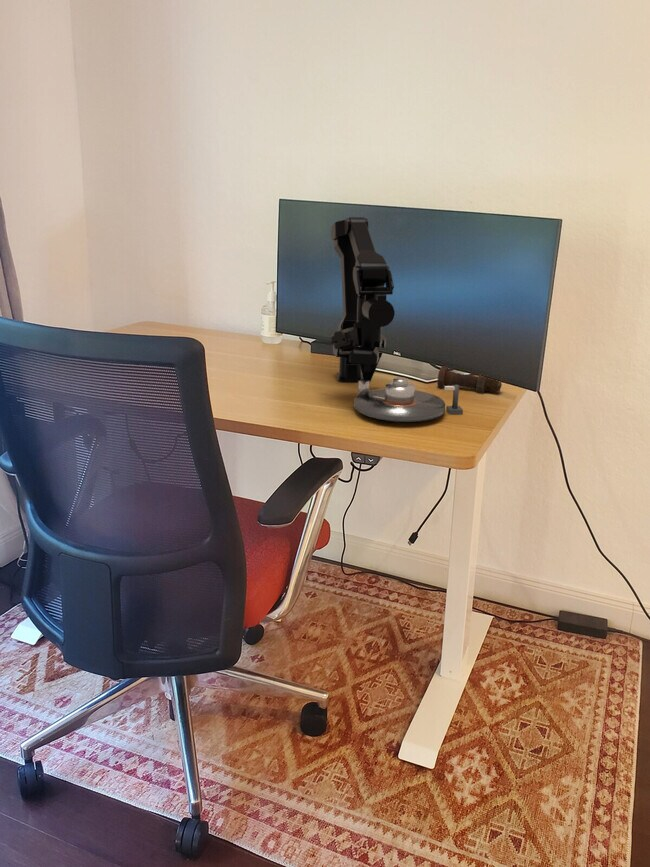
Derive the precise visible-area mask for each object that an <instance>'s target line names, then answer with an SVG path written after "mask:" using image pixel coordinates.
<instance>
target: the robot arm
mask: <svg viewBox="0 0 650 867" xmlns="http://www.w3.org/2000/svg"><path fill="white" fill-rule="evenodd" d="M330 238H331V241H333V249H334V251H335V252H336V253H337V255H338V257H339V258H340V270H341V273H340V274H341V291H342V293H341V294H342V315H343V316H342V319H341V320H340V323H339V324H338V326H337V330H335V331H334V332H333V333H331V335H330V338H331V341H330V343H331V344H332V353H333V355H334V356H335V357H336V358H339V362H338V364H339V366H338V367H339V368H338V372H336V377H337V381H338V382H359V380H369V385H370V383H371V381H372V379H373V376H374V375H375V372H376V370H377V368H378V365H379V363H380V361H381V358H382V356H383V352H382V351H379V349H378V348H382V349H386V346H387V338H386V336H385V335H384V334H383V333H382V331H383V330H382V329H383V327H387V326H389V324H391V323H392V322H393V320H394V318H395V312H396V311H395V308H394V306H393V304H392V303H391V302H389V301H388V300H387V296H388V295H389V296H390V295H393V294H394V293H393V292H394V288H395V286H394V285H395V284H394V279H393V275H392V274H393V273H392V271H391V270H390V266H389V265H388V264H387V262H386V260H385V257H384V256H383V255H381V254H379V253H378V252H377V251H376V248H375V245H374V242H373V238H372V237H371V233H370V230H369V220H368V218H367V217H366V218H365V216H349V217H346V218H345V219H342V220H336V221H335V222H334V223H332V225H331V229H330Z"/></svg>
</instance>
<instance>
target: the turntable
mask: <svg viewBox="0 0 650 867" xmlns="http://www.w3.org/2000/svg"><path fill="white" fill-rule="evenodd" d="M385 389H386V388H378V389H372V390H370V384H369V380H359V381H358V394H357V395H356V396H355V397H354V400H353V401H354V403H353V407H354V409H355V410H356V411H357V412H358V413H360V414H362V415H364V416H367V417H369V418H374V419H377V420H382V421H388V422H402V423H410V422H411V423H413V422H414V423H415V422H423V421H431V420H433V419H436V418H439V417H441V416H442V415H444V413H445V411H446V402H445V401H444V400H443V399H442V398H440V397H439V396H437V395H435V394H433V393H429V392H426V391H421V390H417V389H415V393H414V403H413V404H411V405H405V406H399V405H392V404H388V403H386V402H385Z"/></svg>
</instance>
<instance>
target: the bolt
mask: <svg viewBox="0 0 650 867" xmlns="http://www.w3.org/2000/svg"><path fill="white" fill-rule="evenodd" d="M449 370H450V369H449V366H447V365H442V366H441V367H440V369H439V371H438V375H437V384H436V385H437V387H438V388H440V389H444V387H445V386H454V385H459V387H461V388H462V387H463V388H467V389H468V388H469V389H472V390H476V393H480V394H485V392H492V393H499V392H501V388H502V386H503V385H502V382H499V381H496V380H493V379H494V378H489V377H488V378H487V377H484V376H481V375H480V374H479V375H478V376H477V375H471V374H465V373H458V372H455V371H449Z"/></svg>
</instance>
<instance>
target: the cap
mask: <svg viewBox="0 0 650 867" xmlns="http://www.w3.org/2000/svg"><path fill="white" fill-rule="evenodd" d="M392 380H393V381H389V382H387V383H385V388H384V389H385V402H386V403H388V404H392V405H399V406H405V405H411V404H413V403H414V393H415V390H416V385H415V384H413V383H411V382H409V379H408V378H406V377H401V376H398V377H393V379H392Z"/></svg>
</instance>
